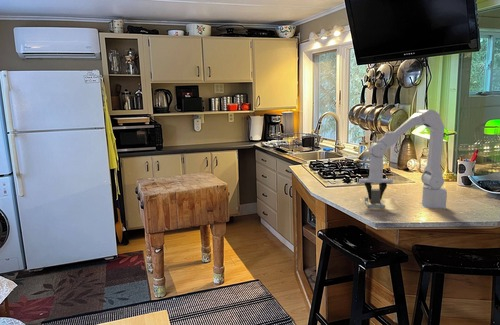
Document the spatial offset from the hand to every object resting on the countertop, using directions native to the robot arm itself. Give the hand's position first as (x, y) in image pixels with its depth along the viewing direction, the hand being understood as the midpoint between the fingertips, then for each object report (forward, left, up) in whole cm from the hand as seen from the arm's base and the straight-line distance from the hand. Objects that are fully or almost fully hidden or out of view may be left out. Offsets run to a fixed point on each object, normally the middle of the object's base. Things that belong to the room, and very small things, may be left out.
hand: (374, 199), depth 168 cm
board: (-3, -3, -3) cm, 6 cm away
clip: (0, -7, -3) cm, 8 cm away
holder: (0, 0, -3) cm, 3 cm away
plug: (0, -4, -2) cm, 5 cm away
